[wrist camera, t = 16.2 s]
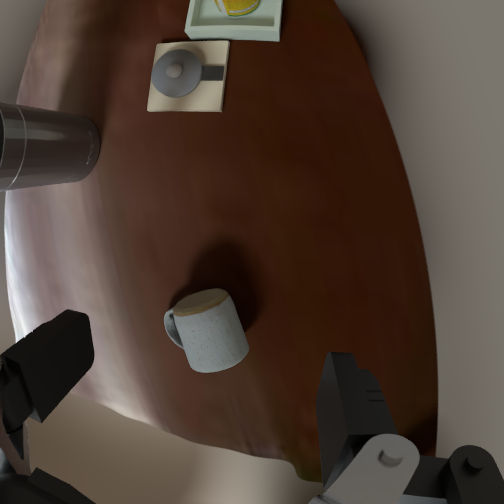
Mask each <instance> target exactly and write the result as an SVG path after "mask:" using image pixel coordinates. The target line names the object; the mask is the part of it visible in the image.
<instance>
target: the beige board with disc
mask: <svg viewBox="0 0 504 504" xmlns="http://www.w3.org/2000/svg"><path fill="white" fill-rule="evenodd" d="M229 46H230V43H229V41H193V42H176V43H164V44H157V47H156V52H155V58H154V64H153V70H152V75H151V84H150V91H149V99H148V107H147V111H150V112H157V111H211V112H222V107H223V97H224V88H225V79H226V71H227V62H228V54H229Z"/></svg>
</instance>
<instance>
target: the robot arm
mask: <svg viewBox="0 0 504 504" xmlns="http://www.w3.org/2000/svg"><path fill="white" fill-rule="evenodd" d="M99 150H100V139H99V134H98V131H97V129H96V127H95V125H94V124H93V123H92V122H91V121H90V120H89V119H87V118H85V117H82V116H77V115H72V114H68V113H63V112H58V111H52V110H47V109H41V108H35V107H29V106H23V105H17V104H10V103H2V102H0V192H1V191H7V190H14V189H21V188H28V187H35V186H43V185H51V184H61V183H70V182H76V181H80V180H81V179H83V178H85V177H86V176H87V175H88V174H89V173H90V172H91V170H92V169H93V168H94V166H95V164H96V162H97V158H98V155H99ZM93 361H94V347H93V341H92V334H91V328H90V321H89V317H88V315H87V314H85V313H81V312H77V311H73V310H69V309H67V310H65V311H63V312H62V313H61V314H59V315H58V316H56V317H55V318H54V319H52V320H51V321H48V322H46V323H43V324H41V325H40V326H38V327H37V328H36V329H34V330H33V332H30V333H29V334H27V335H26V337H25V338H24V337H23V338H22V339H21V340H19V341H18V342H17V343H15V344H14V345H13V346H11V347H10V348H9V349H7V350H6V351H5V352H3V353H2V354H1V355H0V504H96V503H94V502H93V501H91V500H90V499H88V498H87V497H86V496H84V495H83V494H82V493H80V492H79V491H78V490H76V489H75V488H74V487H72V486H71V485H70V484H67V483H66V482H63V481H62V480H60V479H58V478H56V477H54V476H52V475H50V474H48V473H46V472H44V471H42V470H41V469H39V468H36V469H35V470H34V471H33V473H31V468H30V458H29V442H28V426H27V423H26V421H25V420H26V419H27V418H28V417H30V418H32V419H34V420H36V421H38V422H40V423H42V422H43V421H44V420H45V419H46V417H47V416H48V415H49V414H50V413H51V412H52V411H53V410H54V408H55V407H56V406H57V405H58V404H59V403H60V401H61V400H62V399H63V398H64V397H65V396H66V395H67V394H68V393H69V391H70V390H71V389H72V388H73V387H74V386H75V385H76V384H77V382H78V381H79V380H80V379H81V378H82V377H83V376H84V375H85V374H86V372H87V371H88V370H89V369H90V368H91V366H92V364H93ZM316 413H317V422H318V433H319V443H320V454H321V466H322V479H323V489H328V490H327V491H326V492H325V493H324V494H323V495H322V496H320V495H318V496H316V497H315V498H314V499H312V500H311V501H310V502H309V503H308V504H504V480H503V478H502V475H501V473H500V471H499V469H498V467H497V465H496V463H495V461H494V459H493V457H492V456H491V454H489V453H488V452H487V451H486V450H484V449H483V448H481V447H478V446H473V445H465V446H462V447H459V448H458V449H456V450H455V451H454V452H453V454H452V455H451V456H450V458H449V459H446V458H437V457H429V456H424V455H420V454H419V452H418V450H417V448H416V446H415V445H414V444H413V443H412V442H411V441H409V440H408V439H406V438H404V437H402V436H399V435H398V433H397V430H396V428H395V425H394V422H393V420H392V417H391V414H390V411H389V409H388V406H387V404H386V402H385V398H384V396H383V393H381V388H380V385H379V383H378V380H377V379H376V378H375V377H374V376H373V375H372V374H371V373H370V372H369V371H368V370H367V369H358V367H357V364H356V361H355V358H354V355H353V354H352V353H341V352H328V354H327V357H326V360H325V365H324V369H323V373H322V377H321V380H320V384H319V388H318V392H317V399H316Z"/></svg>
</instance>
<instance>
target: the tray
mask: <svg viewBox="0 0 504 504" xmlns="http://www.w3.org/2000/svg"><path fill="white" fill-rule="evenodd" d="M282 4H283V0H260V6H259V8H258V9H257V10H256V11H255V12H254V13H253V14H251V15H249V16H246V17H242V18H231V17H227V16H225V15H223V14H222V13H221V12H220V11H219V10H218V8H217V6H216V4H215V1H214V0H190V5H189V10H188V16H187V21H186V27H185V32H186V33H187V35H188V36H189V37H190V39H191V40H212V39H239V40H265V41H279V40H280V28H281V16H282Z"/></svg>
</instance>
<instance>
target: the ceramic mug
mask: <svg viewBox="0 0 504 504" xmlns="http://www.w3.org/2000/svg"><path fill="white" fill-rule="evenodd" d="M173 316H174V319H173ZM174 321H175V323H174ZM164 324H165V328H166V331H167V333H168V335H169V337H170V338H171V339H172V341H173V342H174V343H175V344H177V345H178V346H179V347H181V348H183V349H184V350H185V353H186V355H187V358H188V361H189V364H190V366H191V368H193V369H194V370H196V371H199V372H204V373H205V372H216V371H220V370H224V369H227V368H230V367H232V366H234V365H236V364H237V363H238V362H240V361H241V360H242V359H243V358H244V357H245V356H246V355H247V353H248V351H249V345H248V342H247V339H246V337H245V334H244V331H243V328H242V325H241V323H240V320H239V318H238V315H237V312H236V308H235V305H234V303H233V301H232V299H231V297H230V295H229V294H228V292H226V291H225V290H223V289H218V288H215V289H208V290H204V291H200V292H197V293H194V294H192V295H189V296H187V297H185V298H183V299H182V300H180V301H179V302H178V303H177V304H176V305H175V307H173V308H171V309H170V310H168V311H167V312H166V314H165V316H164ZM175 325H176V327H175ZM176 328H177V330H178V332H177V330H176Z"/></svg>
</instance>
